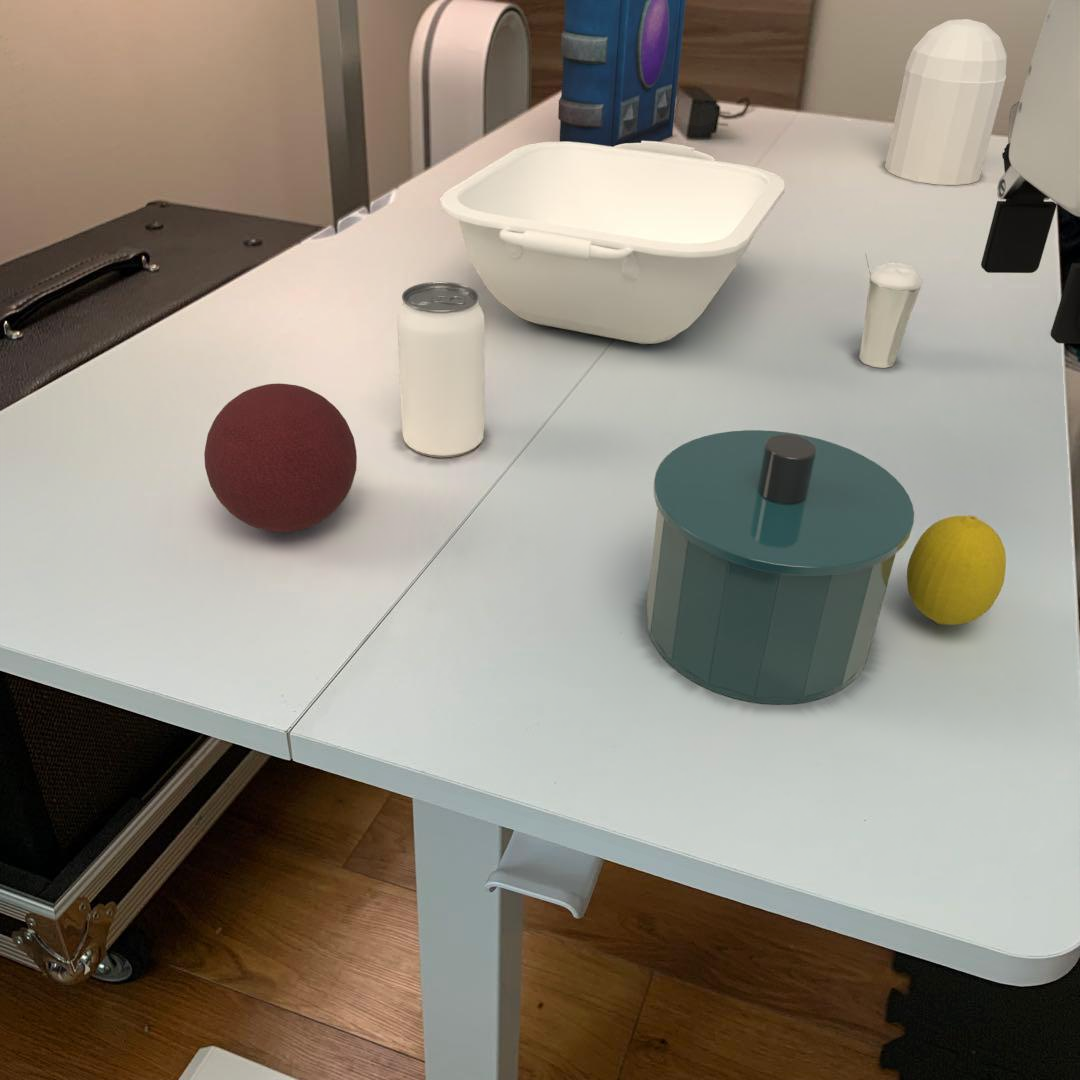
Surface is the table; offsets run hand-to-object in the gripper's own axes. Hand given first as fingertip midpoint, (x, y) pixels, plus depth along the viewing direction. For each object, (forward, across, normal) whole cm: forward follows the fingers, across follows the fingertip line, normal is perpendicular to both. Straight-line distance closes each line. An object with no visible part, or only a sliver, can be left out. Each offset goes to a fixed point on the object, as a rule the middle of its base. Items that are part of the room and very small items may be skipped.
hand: (1042, 303), depth 58 cm
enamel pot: (+20, -3, +14) cm, 25 cm away
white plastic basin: (+20, +47, +19) cm, 54 cm away
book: (+21, +109, +13) cm, 111 cm away
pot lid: (+11, -3, +14) cm, 17 cm away
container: (+21, +101, -32) cm, 108 cm away
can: (+20, +20, +34) cm, 44 cm away
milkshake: (+21, +36, -5) cm, 42 cm away
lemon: (+21, -2, +2) cm, 21 cm away
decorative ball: (+20, +8, +45) cm, 49 cm away
